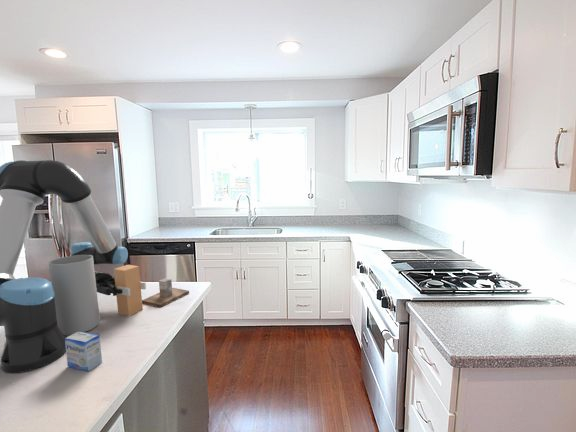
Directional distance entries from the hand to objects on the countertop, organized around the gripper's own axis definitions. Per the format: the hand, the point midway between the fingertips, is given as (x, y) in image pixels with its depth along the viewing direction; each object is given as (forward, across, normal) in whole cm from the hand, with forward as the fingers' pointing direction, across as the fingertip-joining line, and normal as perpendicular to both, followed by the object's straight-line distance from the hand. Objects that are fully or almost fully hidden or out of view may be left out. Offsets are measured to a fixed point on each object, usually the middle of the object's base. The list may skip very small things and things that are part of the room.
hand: (137, 289), depth 116 cm
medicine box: (+14, +29, -10) cm, 34 cm away
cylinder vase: (-11, +16, -10) cm, 22 cm away
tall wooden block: (-5, 0, -10) cm, 11 cm away
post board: (-2, -16, -10) cm, 19 cm away
